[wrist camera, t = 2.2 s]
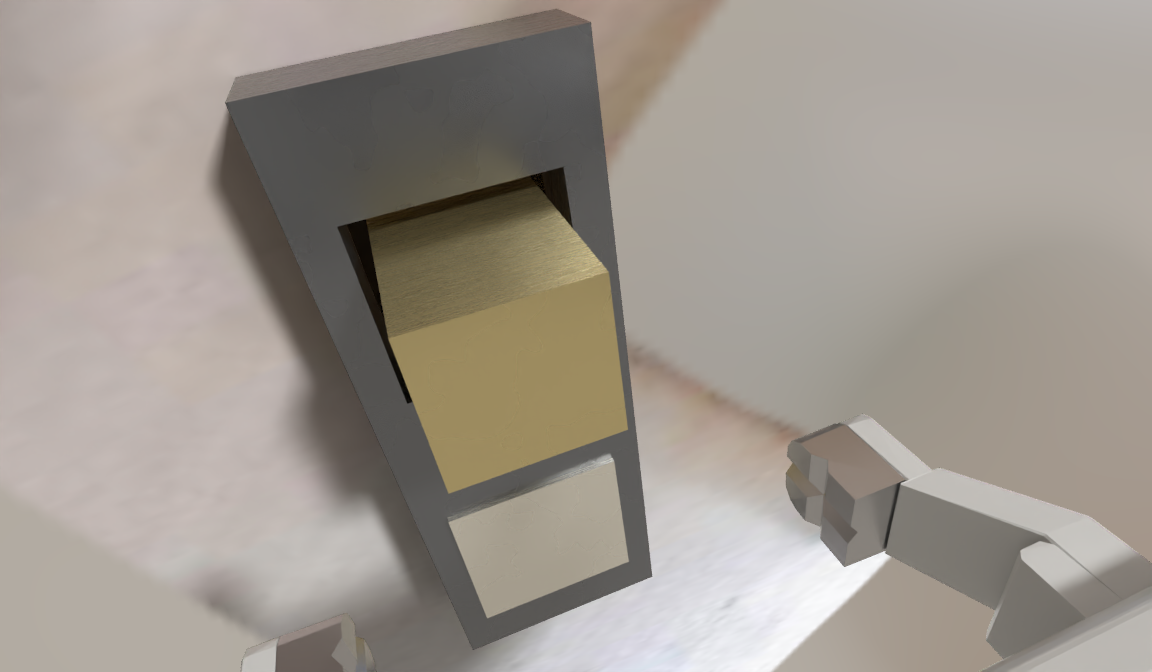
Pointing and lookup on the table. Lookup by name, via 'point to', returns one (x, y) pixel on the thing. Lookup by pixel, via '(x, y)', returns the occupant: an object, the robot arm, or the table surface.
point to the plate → (349, 309)
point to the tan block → (499, 329)
